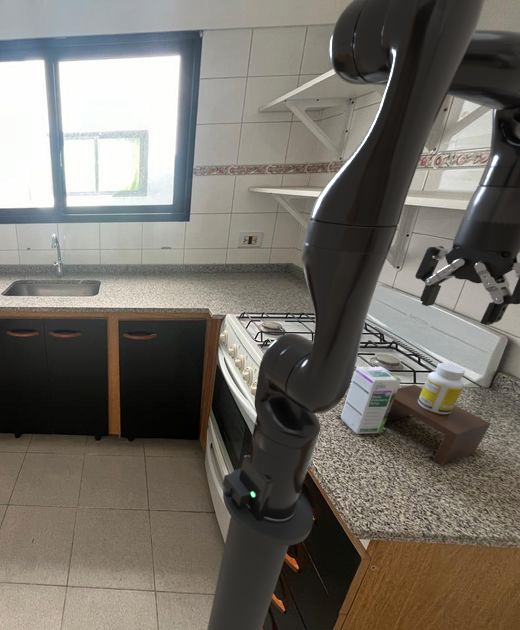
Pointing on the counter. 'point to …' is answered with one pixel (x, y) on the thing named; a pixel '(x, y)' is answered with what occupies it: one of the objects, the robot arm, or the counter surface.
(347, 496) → the counter surface
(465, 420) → the brown wooden arch block
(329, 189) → the robot arm
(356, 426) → the syrup box
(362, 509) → the counter surface
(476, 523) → the counter surface
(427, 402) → the supplement bottle
